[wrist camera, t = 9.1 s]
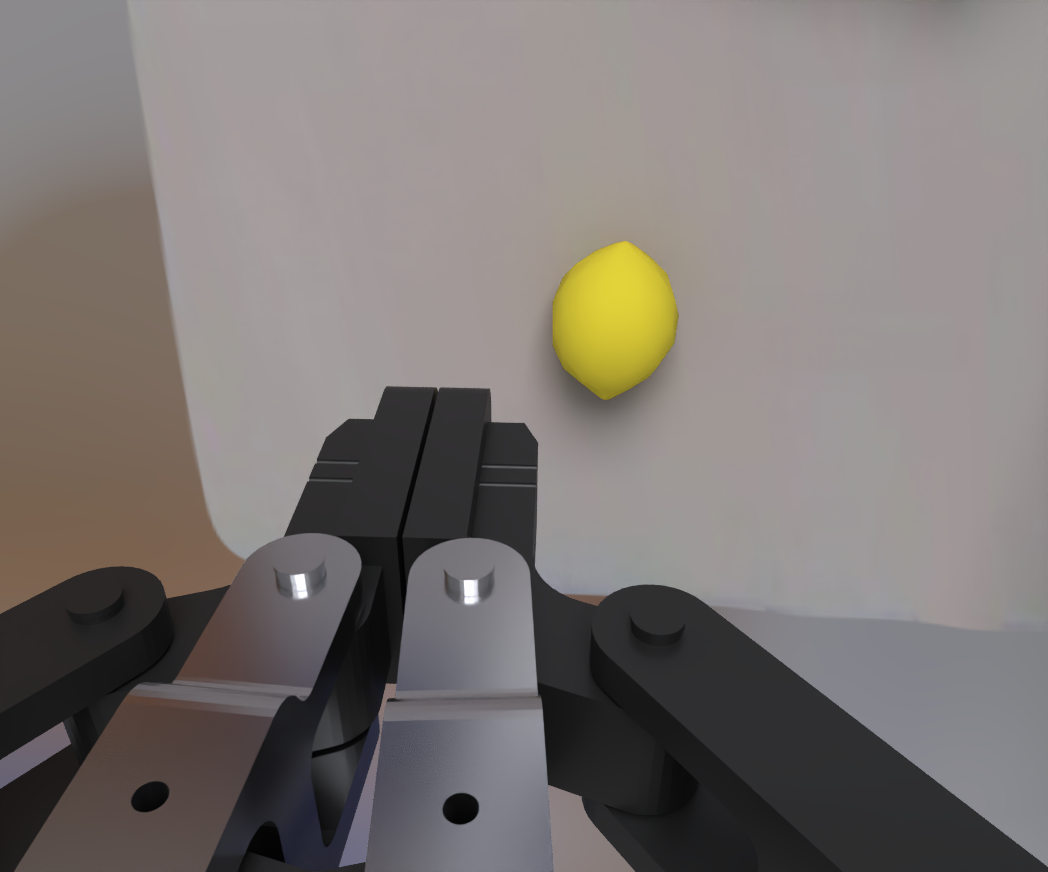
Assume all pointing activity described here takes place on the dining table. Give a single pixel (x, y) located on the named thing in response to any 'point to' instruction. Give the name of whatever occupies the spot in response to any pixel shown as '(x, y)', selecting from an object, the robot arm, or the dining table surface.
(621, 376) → the lemon
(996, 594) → the dining table surface
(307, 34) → the dining table surface
